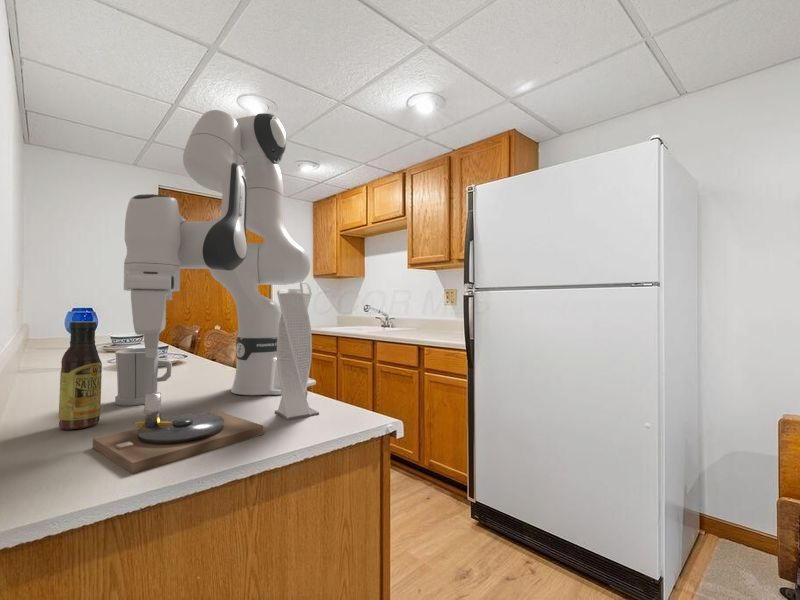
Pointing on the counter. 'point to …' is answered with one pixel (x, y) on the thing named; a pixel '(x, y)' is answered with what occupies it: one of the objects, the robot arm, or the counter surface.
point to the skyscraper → (294, 353)
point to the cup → (138, 376)
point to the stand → (171, 444)
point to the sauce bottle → (80, 379)
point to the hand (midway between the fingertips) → (151, 357)
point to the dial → (174, 424)
